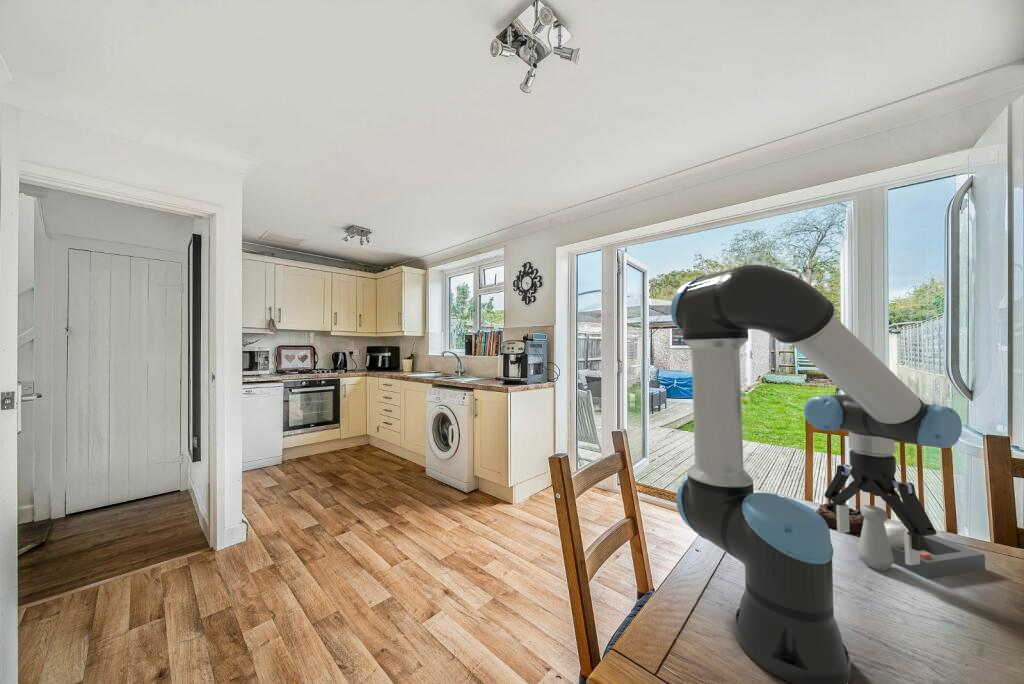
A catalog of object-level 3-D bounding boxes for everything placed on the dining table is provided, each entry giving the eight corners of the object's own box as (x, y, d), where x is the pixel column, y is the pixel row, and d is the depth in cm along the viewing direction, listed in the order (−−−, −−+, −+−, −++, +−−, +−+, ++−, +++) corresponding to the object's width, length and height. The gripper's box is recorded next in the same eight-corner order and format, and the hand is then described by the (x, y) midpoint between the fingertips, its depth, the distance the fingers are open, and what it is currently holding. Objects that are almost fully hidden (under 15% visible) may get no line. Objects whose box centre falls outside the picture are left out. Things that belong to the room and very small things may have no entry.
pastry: (870, 541, 94) (870, 518, 94) (811, 524, 103) (810, 503, 103) (876, 527, 101) (875, 505, 101) (820, 512, 110) (819, 493, 110)
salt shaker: (901, 574, 79) (899, 514, 80) (870, 572, 81) (868, 512, 81) (880, 559, 85) (878, 503, 85) (852, 557, 86) (849, 501, 87)
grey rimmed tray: (927, 579, 78) (926, 543, 78) (869, 551, 89) (867, 520, 89) (985, 570, 81) (983, 535, 81) (921, 544, 91) (920, 513, 92)
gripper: (959, 468, 72) (964, 578, 71) (829, 438, 96) (832, 519, 96) (929, 470, 71) (933, 582, 70) (805, 439, 95) (808, 522, 95)
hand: (875, 546), depth 83 cm, fingers open, 13 cm apart
